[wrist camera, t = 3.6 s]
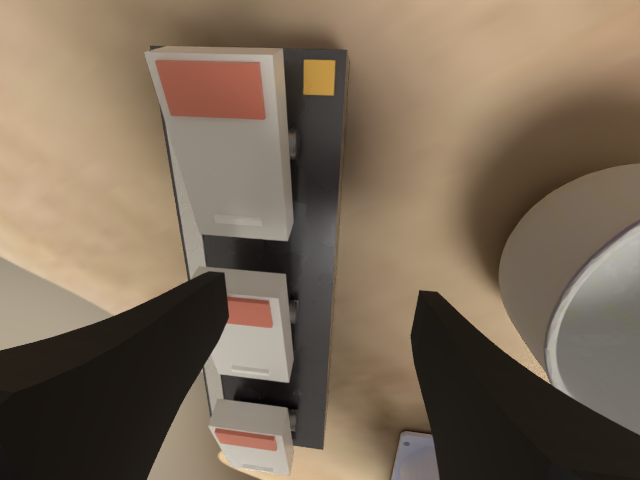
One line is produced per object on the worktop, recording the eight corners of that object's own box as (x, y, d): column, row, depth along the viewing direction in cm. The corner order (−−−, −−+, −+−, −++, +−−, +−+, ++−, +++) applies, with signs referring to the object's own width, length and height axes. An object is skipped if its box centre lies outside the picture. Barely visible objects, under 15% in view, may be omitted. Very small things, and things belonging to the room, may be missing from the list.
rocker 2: (293, 359, 18) (288, 386, 17) (227, 351, 18) (217, 377, 17) (285, 274, 13) (277, 302, 12) (198, 266, 14) (182, 292, 13)
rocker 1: (293, 222, 14) (286, 244, 13) (212, 216, 15) (197, 236, 14) (282, 48, 10) (270, 56, 9) (167, 46, 10) (139, 52, 9)
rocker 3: (293, 451, 21) (289, 479, 20) (238, 443, 22) (230, 470, 20) (287, 407, 17) (281, 440, 16) (217, 398, 17) (206, 429, 16)
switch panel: (327, 405, 25) (321, 468, 20) (231, 392, 25) (205, 450, 21) (349, 61, 15) (345, 44, 11) (192, 58, 16) (129, 40, 11)
